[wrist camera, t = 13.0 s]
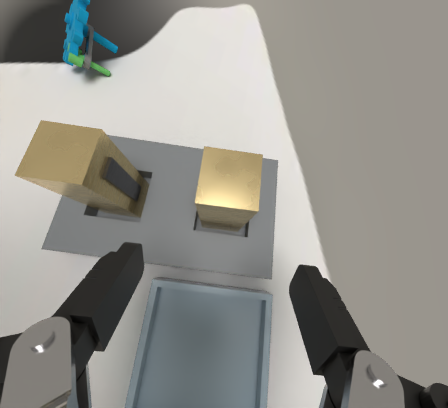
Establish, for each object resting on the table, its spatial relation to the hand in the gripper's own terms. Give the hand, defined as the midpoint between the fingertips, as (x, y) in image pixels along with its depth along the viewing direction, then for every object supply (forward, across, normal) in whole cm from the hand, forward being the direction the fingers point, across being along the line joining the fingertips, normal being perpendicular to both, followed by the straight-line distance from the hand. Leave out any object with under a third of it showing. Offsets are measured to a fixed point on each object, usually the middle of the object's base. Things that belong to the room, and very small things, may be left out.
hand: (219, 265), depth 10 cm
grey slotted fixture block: (+12, +5, +5) cm, 14 cm away
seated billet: (+12, +11, +4) cm, 16 cm away
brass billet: (+12, 0, +4) cm, 12 cm away
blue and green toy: (+28, +22, -10) cm, 37 cm away
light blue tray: (+3, 0, +14) cm, 15 cm away
